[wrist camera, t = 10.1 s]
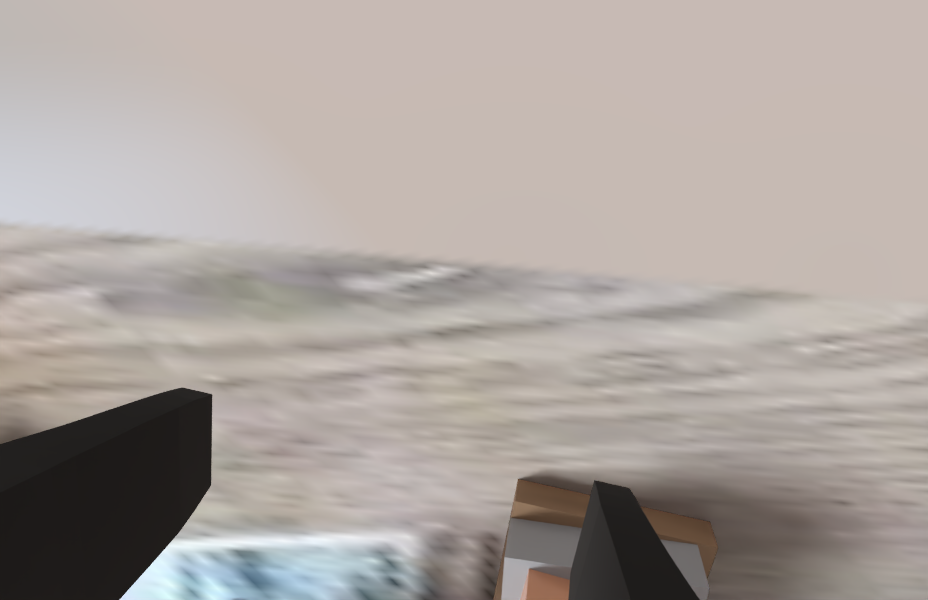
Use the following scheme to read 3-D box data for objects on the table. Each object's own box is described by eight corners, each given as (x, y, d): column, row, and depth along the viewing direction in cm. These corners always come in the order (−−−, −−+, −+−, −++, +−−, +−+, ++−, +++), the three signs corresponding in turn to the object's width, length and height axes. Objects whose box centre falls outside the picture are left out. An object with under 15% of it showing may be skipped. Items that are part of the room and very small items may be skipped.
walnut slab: (659, 650, 25) (666, 695, 23) (490, 608, 26) (484, 648, 24) (706, 510, 23) (718, 547, 21) (519, 468, 24) (514, 500, 22)
